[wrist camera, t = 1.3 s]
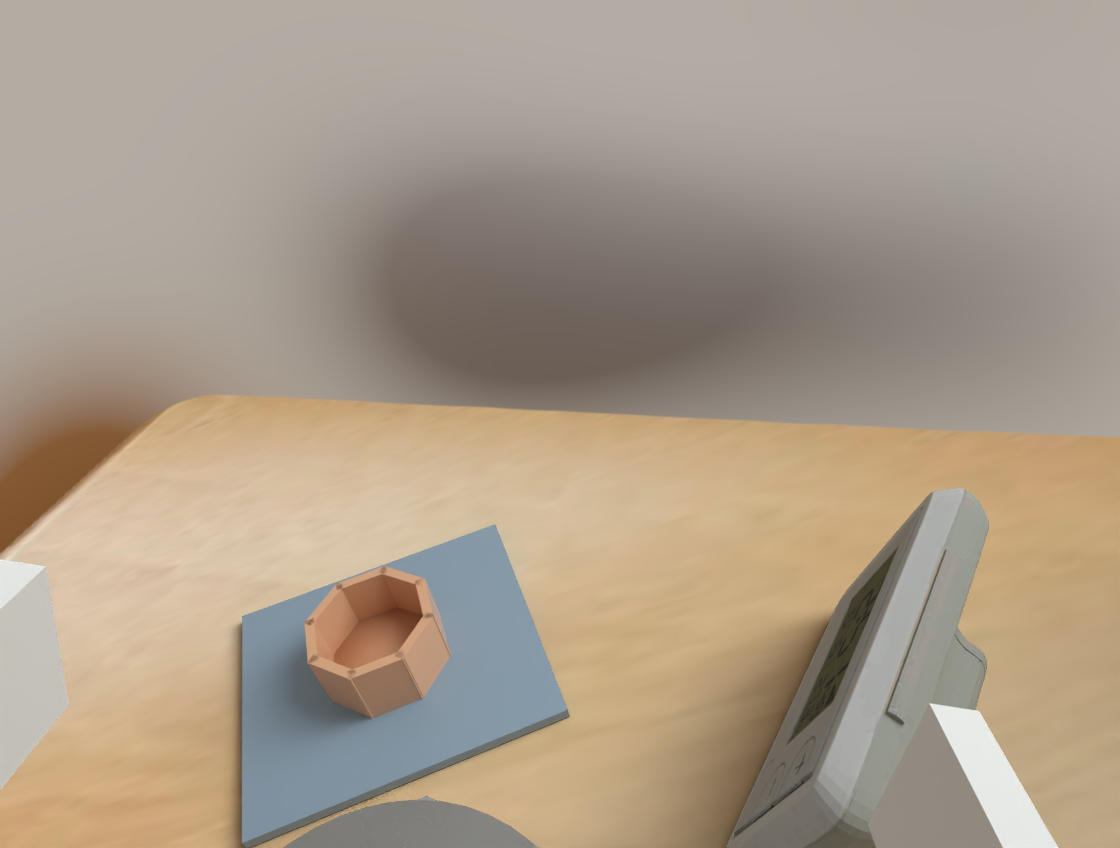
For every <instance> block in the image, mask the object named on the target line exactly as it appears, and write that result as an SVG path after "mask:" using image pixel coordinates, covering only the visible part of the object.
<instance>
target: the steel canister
mask: <svg viewBox="0 0 1120 848" xmlns="http://www.w3.org/2000/svg"><path fill="white" fill-rule="evenodd" d="M284 848H539V847H537V846H535V845H534V844H533V843H532V842H531V841H529V840H528V839H527V838H525V837H524V836H523V835H521V834H520V833H519V832H517V831H516V830H515V829H513V828H512V827H511V826H509V825H507V824H505V823H503V822H501V821H500V820H498V819H496V818H494V817H492V816H490V815H488V814H486V813H483V812H480V811H477V810H475V809H472V808H469V807H466V806H462V805H457V804H452V803H447V802H442V801H437V800H434V799H432V798H430V797H428V796H425V797H423V798H421V799H418V800H409V801H397V802H388V803H384V804H379V805H375V806H370V807H365V808H362V809H359V810H356V811H354V812H351V813H348V814H345V815H342V816H339V817H337V818H335V819H333V820H331V821H329V822H327V823H324V824H322V825H320V826H318V827H316V828H314V829H312V830H311V831H309V832H307V833H306V834H304V835H302V836H301V837H299V838H298V839H296V840H294V841H293V842H291V843H289V844H288V845H286V846H285V847H284Z"/></svg>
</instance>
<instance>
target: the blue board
mask: <svg viewBox="0 0 1120 848" xmlns="http://www.w3.org/2000/svg"><path fill="white" fill-rule="evenodd" d="M383 566H386V567H389V568H392V569H395V570H399V571H402V572H405V573H408V574H412V575H415V576H418V577H422V578H425V580H426V583H427V585H428V588H429V590H430V592H431V595H432V597H433V599H434V602H435V604H436V606H437V609H438V611H439V613H440V616H441V618H442V619H441V621H442V624H443V628H444V632H445V636H446V639H447V643H448V647H449V650H450V653H451V657H450V658H449V659H448V661H447V662H446V664H445V665H444V667H443V669H442V670H441V672H440V673H439V675H438V676H437V678H436V679H435V681H434V682H433V684H432V686H431V687H430V689H429V690H428V692H427V693H426V695H425V696H424V698H423V699H420V700H418V701H415V702H413V703H410V704H407V705H405V706H402V707H400V708H397V709H395V710H392V711H390V712H387V713H385V714H382V715H380V716H377V717H375V718H372V719H371V718H370V717H368V716H366V715H363V714H361V713H358V712H356V711H354V710H351V709H349V708H346V707H344V706H342V705H339V704H337V703H335V702H332V701H331V700H330V698H329V696H328V695H327V693H326V692H325V690H324V688H323V687H322V685H321V684H320V682H319V681H318V679H317V677H316V676H315V674H314V673H313V671H312V670H311V668H310V666H309V665H308V663H307V662H308V659H307V647H306V634H305V624H304V622H305V621H306V620H307V619H308V618H309V616H310V615H311V614H312V613H313V611H314V610H315V609H316V608H317V607H318V605H319V604H320V603H321V602H322V601H323V599H324V598H325V597H326V596H327V595H328V593H329V592H330V591H331V590H332V589H333V587H334V586H335V585H336V584H337V583H340V582H342V581H345V580H348V579H351V578H353V577H356V576H359V575H362V574H364V573H367V572H370V571H373V570H375V569H378V568H381V567H383ZM567 717H569V713H568V710H567V707H566V704H565V702H564V699H563V697H562V694H561V692H560V689H559V687H558V684H557V681H556V679H555V676H554V674H553V671H552V669H551V666H550V663H549V661H548V658H547V656H546V653H545V651H544V648H543V646H542V643H541V640H540V638H539V635H538V633H537V630H536V628H535V625H534V622H533V620H532V617H531V615H530V612H529V610H528V607H527V605H526V602H525V599H524V597H523V594H522V592H521V589H520V587H519V584H518V581H517V579H516V576H515V574H514V571H513V569H512V566H511V564H510V561H509V558H508V556H507V553H506V551H505V548H504V546H503V543H502V540H501V538H500V535H499V533H498V530H497V528H496V525H492V526H489V527H487V528H484V529H481V530H478V531H476V532H473V533H470V534H467V535H465V536H462V537H459V538H456V539H454V540H451V541H448V542H445V543H443V544H440V545H437V546H434V547H432V548H429V549H426V550H423V551H421V552H418V553H415V554H412V555H410V556H407V557H404V558H401V559H399V560H396V561H393V562H390V563H388V564H385V565H382V566H379V567H377V568H374V569H371V570H368V571H366V572H363V573H360V574H357V575H355V576H352V577H349V578H346V579H344V580H341V581H338V582H335V583H333V584H330V585H327V586H324V587H322V588H319V589H316V590H313V591H311V592H308V593H305V594H302V595H300V596H297V597H294V598H291V599H289V600H286V601H283V602H280V603H278V604H275V605H272V606H269V607H267V608H264V609H261V610H259V611H256V612H253V613H250V614H248V615H245V616H242V844H243V845H244V846H245V847H246V848H251V847H253V846H256V845H258V844H260V843H263V842H265V841H268V840H270V839H273V838H275V837H277V836H280V835H282V834H285V833H287V832H290V831H292V830H294V829H297V828H299V827H302V826H304V825H307V824H309V823H311V822H314V821H316V820H319V819H321V818H324V817H326V816H328V815H331V814H333V813H336V812H338V811H341V810H343V809H346V808H348V807H350V806H353V805H355V804H358V803H360V802H363V801H365V800H367V799H370V798H372V797H375V796H377V795H380V794H382V793H384V792H387V791H389V790H392V789H394V788H397V787H399V786H401V785H404V784H406V783H409V782H411V781H414V780H416V779H418V778H421V777H423V776H426V775H428V774H431V773H433V772H436V771H438V770H440V769H443V768H445V767H448V766H450V765H453V764H455V763H457V762H460V761H462V760H465V759H467V758H470V757H472V756H474V755H477V754H479V753H482V752H484V751H487V750H489V749H491V748H494V747H496V746H499V745H501V744H504V743H506V742H508V741H511V740H513V739H516V738H518V737H521V736H523V735H526V734H528V733H530V732H533V731H535V730H538V729H540V728H543V727H545V726H547V725H550V724H552V723H555V722H557V721H560V720H562V719H564V718H567Z"/></svg>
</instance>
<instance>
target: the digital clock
mask: <svg viewBox="0 0 1120 848" xmlns="http://www.w3.org/2000/svg"><path fill="white" fill-rule="evenodd" d="M988 529H989V521H988V519H987V516H986V513H985V511H984V509H983V507H982V505H981V504H980V502H979V500H978V499H977V498H976V497H975V496H974V495H973V494H971V493H970V492H969V491H967V490H964V489H963V488H956V489H947V490H941V491H934V492H932V493H930V494H929V495H928V496H927V497H926V498H925V500H924V501H923V502H922V503H921V504H920V505H919V506H918V508H917V509H916V510H915V511H914V512H913V513H912V514H911V516H910V517H909V518H908V519H907V520H906V522H905V523H904V524H903V525H902V526H901V527H900V529H899V530H898V531H897V532H896V533H895V534H894V536H893V537H892V538H891V539H890V540H889V541H888V543H887V544H886V545H885V546H884V547H883V548H882V550H881V551H880V552H879V553H878V554H877V555H876V557H875V558H874V559H873V560H872V561H871V562H870V564H869V565H868V566H867V567H866V568H865V569H864V571H863V572H862V573H861V574H860V575H859V576H858V578H857V579H856V580H855V581H854V582H853V583H852V585H851V586H850V587H849V588H848V589H847V591H846V592H845V594H844V595H843V596H842V598H841V599H840V601H839V603H838V605H837V607H836V609H835V611H834V613H833V615H832V617H831V619H830V622H829V624H828V626H827V628H826V630H825V632H824V634H823V637H822V639H821V641H820V643H819V645H818V647H817V650H816V652H815V654H814V656H813V658H812V660H811V663H810V665H809V667H808V669H807V671H806V673H805V676H804V678H803V680H802V682H801V684H800V686H799V689H798V691H797V693H796V695H795V697H794V699H793V702H792V704H791V706H790V708H789V710H788V712H787V715H786V717H785V719H784V721H783V723H782V725H781V728H780V730H779V732H778V734H777V736H776V738H775V741H774V743H773V745H772V747H771V749H770V751H769V754H768V756H767V758H766V760H765V762H764V764H763V767H762V769H761V771H760V773H759V775H758V777H757V780H756V782H755V784H754V786H753V788H752V791H751V793H750V795H749V797H748V799H747V801H746V804H745V806H744V808H743V810H742V812H741V814H740V817H739V819H738V821H737V823H736V826H735V828H734V830H733V832H732V834H731V837H730V839H729V841H728V843H727V846H726V848H876V846H875V843H874V841H873V838H872V835H871V832H870V829H869V826H868V823H869V821H870V819H871V817H872V815H873V813H874V811H875V809H876V808H877V806H878V804H879V802H880V800H881V798H882V796H883V794H884V792H885V790H886V788H887V786H888V784H889V782H890V780H891V778H892V776H893V774H894V772H895V770H896V768H897V766H898V764H899V762H900V760H901V758H902V756H903V754H904V752H905V750H906V748H907V746H908V744H909V743H910V741H911V739H912V737H913V735H914V733H915V731H916V729H917V727H918V725H919V723H920V721H921V719H922V717H923V715H924V713H925V711H926V709H927V707H928V705H929V703H931V704H937V705H944V706H950V707H957V708H963V709H969V710H975V709H976V705H977V702H978V698H979V695H980V691H981V688H982V684H983V681H984V677H985V674H986V669H987V660H986V657H985V655H984V653H983V652H982V651H981V650H980V649H978V648H977V647H976V646H975V645H973V644H972V643H970V642H969V641H968V640H967V639H966V638H965V637H964V636H963V635H962V633H961V632H960V630H959V629H958V627H957V626H958V623H959V620H960V617H961V614H962V611H963V608H964V605H965V602H966V599H967V596H968V593H969V589H970V586H971V583H972V580H973V577H974V574H975V571H976V568H977V565H978V562H979V559H980V556H981V552H982V549H983V546H984V543H985V539H986V536H987V533H988Z"/></svg>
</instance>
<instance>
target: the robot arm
mask: <svg viewBox="0 0 1120 848" xmlns="http://www.w3.org/2000/svg"><path fill="white" fill-rule="evenodd" d="M68 706H69V703H68V697H67V691H66V685H65V679H64V673H63V666H62V660H61V654H60V648H59V642H58V636H57V630H56V624H55V618H54V612H53V606H52V600H51V594H50V588H49V582H48V576H47V569H46V566H39V565H33V564H27V563H20V562H14V561H7V560H1V559H0V790H1V789H2V787H3V786H4V785H5V784H6V782H7V781H8V780H9V779H10V778H11V776H12V775H13V774H14V773H15V771H16V770H17V769H18V768H19V766H20V765H21V764H22V763H23V761H24V760H25V759H26V758H27V756H28V755H29V754H30V753H31V752H32V750H33V749H34V748H35V747H36V745H37V744H38V743H39V742H40V740H41V739H42V738H43V737H44V735H45V734H46V733H47V732H48V730H49V729H50V728H51V727H52V725H53V724H54V723H55V722H56V721H57V719H58V718H59V717H60V716H61V714H62V713H63V712H64V711H65V709H66V708H67V707H68ZM868 826H869V829H870V832H871V835H872V838H873V841H874V843H875V846H876V848H1058V847H1057V845H1056V843H1055V841H1054V840H1053V838H1052V836H1051V834H1050V833H1049V831H1048V829H1047V828H1046V826H1045V824H1044V822H1043V821H1042V819H1041V817H1040V815H1039V814H1038V812H1037V810H1036V809H1035V807H1034V805H1033V803H1032V802H1031V800H1030V798H1029V796H1028V795H1027V793H1026V791H1025V790H1024V788H1023V786H1022V784H1021V783H1020V781H1019V779H1018V777H1017V776H1016V774H1015V772H1014V771H1013V769H1012V767H1011V765H1010V764H1009V762H1008V760H1007V758H1006V757H1005V755H1004V753H1003V752H1002V750H1001V748H1000V746H999V745H998V743H997V741H996V739H995V738H994V736H993V734H992V733H991V731H990V729H989V727H988V726H987V724H986V722H985V720H984V719H983V717H982V715H981V714H980V712H979V711H976V710H969V709H963V708H957V707H950V706H944V705H937V704H931V703H929V705H928V707H927V709H926V711H925V713H924V715H923V717H922V719H921V721H920V723H919V725H918V727H917V729H916V731H915V733H914V735H913V737H912V739H911V741H910V743H909V744H908V746H907V748H906V750H905V752H904V754H903V756H902V758H901V760H900V762H899V764H898V766H897V768H896V770H895V772H894V774H893V776H892V778H891V780H890V782H889V784H888V786H887V788H886V790H885V792H884V794H883V796H882V798H881V800H880V802H879V804H878V806H877V808H876V809H875V811H874V813H873V815H872V817H871V819H870V821H869V823H868Z"/></svg>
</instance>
